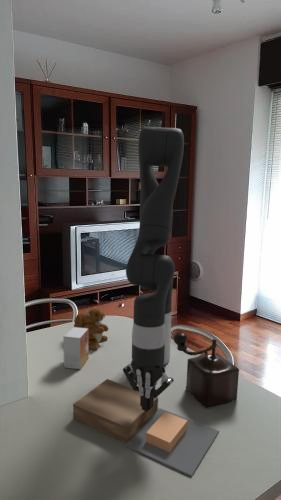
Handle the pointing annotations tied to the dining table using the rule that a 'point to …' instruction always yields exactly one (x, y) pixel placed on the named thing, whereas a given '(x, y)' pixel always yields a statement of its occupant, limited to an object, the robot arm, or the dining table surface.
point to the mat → (184, 452)
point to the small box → (76, 348)
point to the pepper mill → (209, 375)
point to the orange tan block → (166, 431)
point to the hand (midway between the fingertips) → (146, 409)
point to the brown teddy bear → (92, 326)
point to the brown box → (113, 410)
